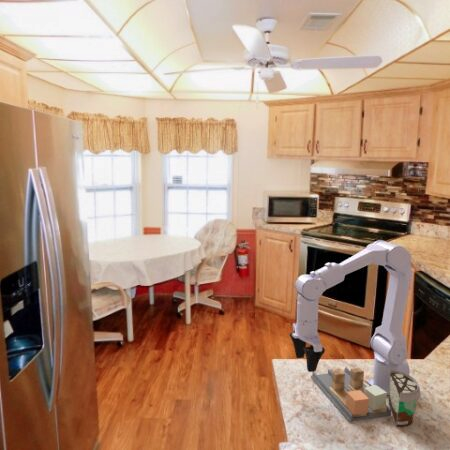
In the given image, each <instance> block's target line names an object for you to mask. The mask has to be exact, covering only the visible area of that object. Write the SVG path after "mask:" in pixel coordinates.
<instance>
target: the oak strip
mask: <svg viewBox="0 0 450 450" xmlns="http://www.w3.org/2000/svg"><path fill="white" fill-rule="evenodd" d="M344 385H345V373H344V372H343V370H342V369H338V370H333V371H332V382H331V387H329V389H330V390H331V391H332V392H333V393H334V395H335V396H336V397H337V398H338V399H339V400H340V401H341V402H342V404H343V405H344V406H345V407H346V408H347V406H346V395H347V392H348V391H347V390H346V389H345V388H344ZM347 409H348V408H347ZM348 410H349V409H348ZM349 412H350V413H351V414H352V415H353V417H359V416H366V414H367V413H364V414H358V415H354V414H353V413H352V412H351V411H350V410H349Z"/></svg>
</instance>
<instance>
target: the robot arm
mask: <svg viewBox="0 0 450 450" xmlns="http://www.w3.org/2000/svg"><path fill="white" fill-rule="evenodd" d="M411 259H412V254H411V253H410V252H409V251H408V250H407V248H406V247H405V246H403V245H397V244H394V243H390V242H387V241H385V240H383V239H378V240H376V241H374V242H373V243H372V242H371V243H370V244H368V245H366V247H365V248H364V249H362V250H360V251H359V252H357V253H355V254H354V255H352V256H351V257H348V258H347V259H345V260H343V261H341V262H340V263H336V262H326V263H325V264H324V266H323V267H321V268H319V269H316V270H315V271H314V270H313V271H310V272H309V274H306V273H305V274H301V275H300V276H298V278H297V279H296V281H295V283H294V284H293V287H294V289H295V291H296V292H297V296H296V297H297V302H296V323H292V330H293V331H294V332H290V333H289V337H290V339H291V341H292V345H293V349H294V355H295V357H296V359H297V360H298V359H303V358H304V357H305V359H306V360H305V361H306V369H307V372H309V373H312V372H316V371H317V368H318V365H319V361H320V359H322V356H323V354H324V353H326V349H325V348H324V346H323V344H322V342H321V340H320V337H319V333H318V327H319V326H318V323H319V322H318V321H319V320H318V318H319V299H320V298H321V297H322V295H323V293H324V292H326V290H328V289H330V288H332V287H334V286H336V285H338V284H340V283H342V282H344V280H345V276H346V275H348V274H351V273H353V272H355V271H358V270H360V269H362V268H364V267H366V266H369V265H376V266H383V267H384V269H386V271H387V272H388V273H389V280H388V287H387V292H386V298H385V303H384V308H383V314H382V315H383V316H382V319H381V325H379V326H377V327H375V331H374V334H373V336H372V337H371V338H370V347H371V349H372V350H373V355H374V361H373V375H372V376H373V377H372V378H371V379H366V383H367V384H368V385H369V386H373V385H377V386H378V387H380V388H381V389H383V390H384V391H385V392H387V396H389V381H390V376H389V373H390V370H396V371H400V372H403V373H405V374H408V375H409V376H410V373H411V372H410V366H409V363H408V361H407V357H408V349H407V343H408V342H407V339H406V337H405V335H404V333H403V331H402V329H403V324H404V320H405V319H404V318H405V313H406V308H407V304H408V297H409V292H410V287H411V281H412V276H413V268H412V264H411ZM307 344H309V346H307Z"/></svg>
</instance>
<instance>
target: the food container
mask: <svg viewBox="0 0 450 450" xmlns="http://www.w3.org/2000/svg"><path fill="white" fill-rule="evenodd" d="M389 376H390V381H389V395H388V404H387V406H388V407H389V408H390V409H391V416H392V419H393V422H394V425H395V427H396V428H406V427H409V426H411V425H412V424H413V422H414V416H415V411H416V405H417V400H418V399H419V398H420V397H421V387H420V385H419V382H418V381H417V380H416V379H415V377H412V376H411V375H410V374H409V375H408V374H405V373H403V372H400V371H396V370H390V373H389Z"/></svg>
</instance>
